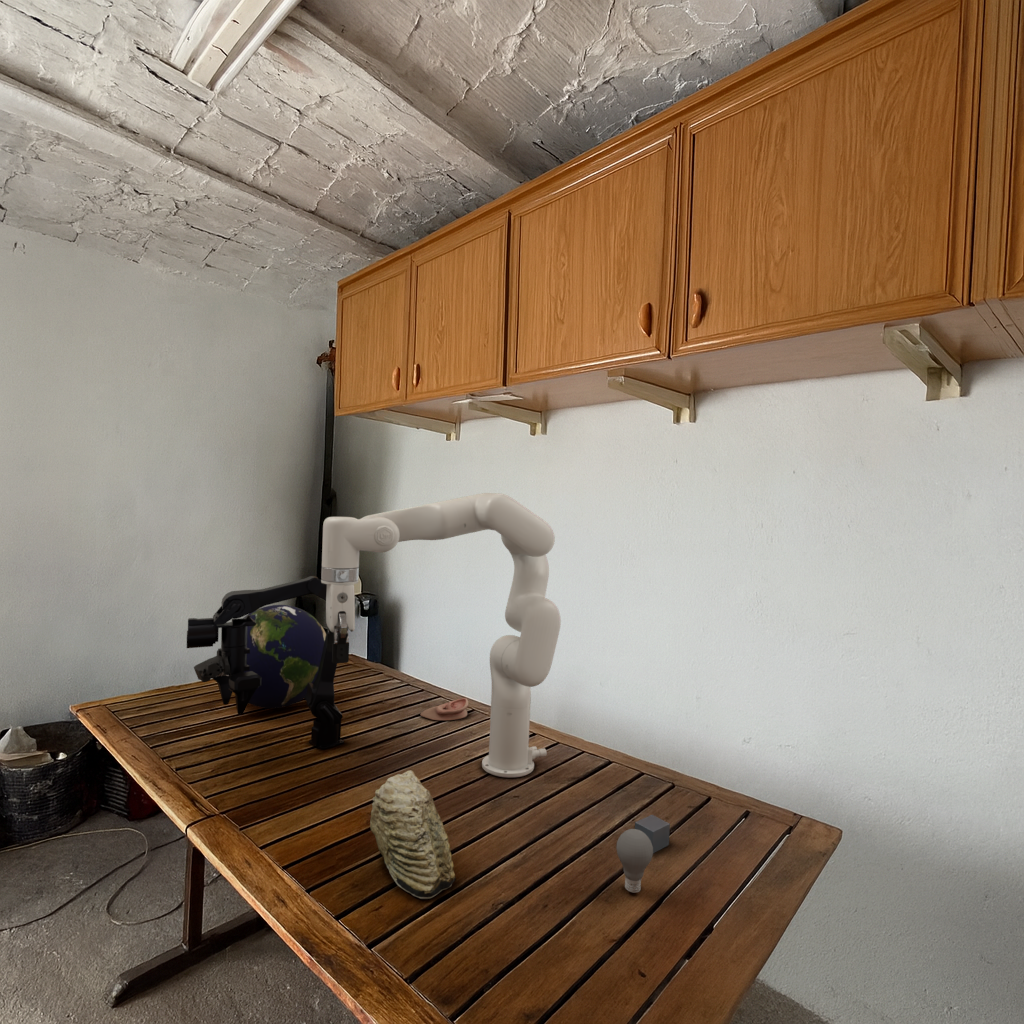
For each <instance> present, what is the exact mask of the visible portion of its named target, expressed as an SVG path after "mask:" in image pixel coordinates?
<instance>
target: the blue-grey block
mask: <svg viewBox="0 0 1024 1024" xmlns="http://www.w3.org/2000/svg"><path fill="white" fill-rule="evenodd" d="M634 829H637V830H640V831H642V832H644V833H645V834H646V835H647V836H648V838H649V839H650V841H651V843H652V846H653V854H655V853H656V852H658V851H661V850H662V849H665V848H666V847H668V846H669V845H670V834H671V833H670V832H671V831H670V830H671V823H670V822H667V821H666V820H663V819H662V818H659V817H657V816H656V815H654V814H650V815H648V816H645V817H643V818H640V819H639V820H637V821H635V822H634Z"/></svg>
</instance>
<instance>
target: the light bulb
mask: <svg viewBox="0 0 1024 1024" xmlns="http://www.w3.org/2000/svg"><path fill="white" fill-rule="evenodd" d="M615 849H616V854H617V857H618V859H619V861H620V863H621V865H622V867H623V873H624V874H623V875H624V876H625V878H624V888H625V890H627V891H628V892H630V893H634V894H635V893H639V892H640V891H641V889H642V887H641V886H642V879H643V877H644V875H645V871H646V868H647V867H648V866H649V864H650V863H651V861H652V859H653V855H654V853H653V846H652V843H651V841H650V839H649V838H648V836H647V835H646V834H645V833H644V832H642V831H640V830H637V829H635V828H629V829H627V830H625V831H623V832H622V833H621V834H620V835H619V837H618V839H617V841H616V847H615Z"/></svg>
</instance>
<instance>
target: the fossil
mask: <svg viewBox="0 0 1024 1024" xmlns="http://www.w3.org/2000/svg"><path fill="white" fill-rule="evenodd" d="M374 794H375V796H373V797H372V804H371V806H372V809H371V812H370V821H369V827H370V832H371V833H372V834H373V836H374V837H375V842H376V845H377V848H378V851H379V853H380V854H381V856H382V857H383V860H384V864H385V866H386V868H387V869H388V872H389V874H390V876H391V878H392V880H393V881H394V882H395V884H396V885H397V886H398V887H399V888H400V889H401V890H403V891H404V892H407V893H408V894H411V896H413V897H415V898H418V899H420V900H428V899H429V900H430V899H432V898H435V896H437V895H438V894H440V893H441V892H442V891H444V890H447V889H449V888H451V887H452V885H453V883H454V882H455V881H456V874H455V871H454V866H455V864H454V861H453V860H452V858H453V857H452V852H451V845H450V843H449V842H450V841H449V836H448V834H447V832H446V829H445V827H444V823H443V821H442V818H441V816H440V815H439V812H438V810H437V807H436V804H435V801H434V799H433V796H432V795H431V791H430V790H428V789H426V787H425V786H424V785H423V784H422V782H421V780H420V779H419V777H417V776H416V774H415V772H414V771H413V770H411V769H410V770H407V771H405V772H403V773H402V774H401V773H397V774H395V775H394V776H390V777H388V778H387V779H386V781H385V783H383V784H382V785H381V786H380V788H378V789H376V790H375V792H374Z"/></svg>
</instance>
